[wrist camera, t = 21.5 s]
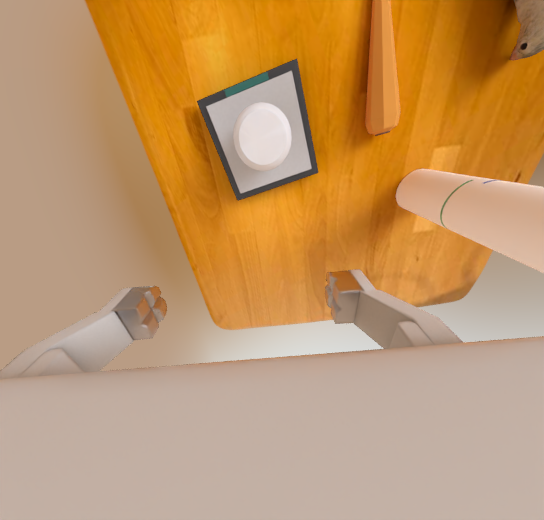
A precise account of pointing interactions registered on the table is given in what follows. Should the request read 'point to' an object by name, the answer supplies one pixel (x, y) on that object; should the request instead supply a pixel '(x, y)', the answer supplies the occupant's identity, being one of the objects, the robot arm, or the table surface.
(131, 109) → the table surface
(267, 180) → the scale
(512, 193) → the cylindrical container
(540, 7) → the decorative bird
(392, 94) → the carrot
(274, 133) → the pill bottle
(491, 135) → the table surface
